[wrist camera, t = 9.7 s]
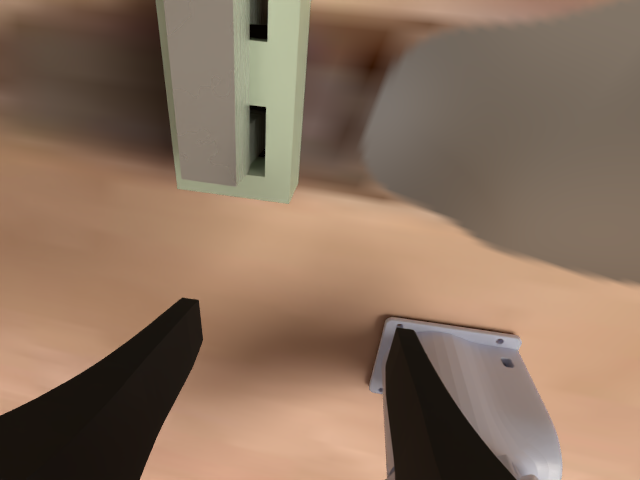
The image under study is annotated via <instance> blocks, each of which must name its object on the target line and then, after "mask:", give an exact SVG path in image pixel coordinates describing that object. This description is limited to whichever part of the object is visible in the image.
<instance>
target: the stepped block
mask: <svg viewBox="0 0 640 480" xmlns="http://www.w3.org/2000/svg"><path fill="white" fill-rule="evenodd" d="M164 10H165V20H166V30H167V40H168V50H169V60H170V70H171V79H172V89H173V99H174V109H175V119H176V129H177V139H178V148H179V158H180V168H181V178H182V179H184V180H191V181H198V182H205V183H212V184H219V185H227V186H234V187H237V186H238V184H239V183H240V182H241V181H242V180H243V178H244V177H245V176H246V175H247V174H248V172H249V166H250V165H251V164H252V162H253V161H254V160H255V159H256V158H257V157H258V155H259V154H260V153H261V152H262V151H263V150H264V148H265V145H266V111H262V110H255V109H250V24H257V25H268V0H164Z"/></svg>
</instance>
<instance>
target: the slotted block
mask: <svg viewBox="0 0 640 480" xmlns="http://www.w3.org/2000/svg"><path fill="white" fill-rule="evenodd" d="M310 4H311V0H268V39H261V38H252V37H250V105H255V106H263V107H266V148H265V157H257V158H256V159H255V160H254V161H253V162H252V164H251V165H250V166H249V172H248V174H247V175H246V176H245V177H244V178H243V180H242V181H241V182H240V183H239V184H238V186H237V187H234V186H227V185H219V184H212V183H205V182H198V181H191V180H184V179H182V178H181V168H180V158H179V148H178V139H177V129H176V119H175V109H174V99H173V89H172V79H171V70H170V60H169V50H168V40H167V30H166V20H165V10H164V0H156V8H157V17H158V25H159V34H160V43H161V51H162V60H163V68H164V77H165V86H166V94H167V103H168V112H169V120H170V129H171V138H172V146H173V155H174V163H175V172H176V181H177V189H182V190H190V191H197V192H205V193H212V194H219V195H227V196H234V197H242V198H249V199H257V200H264V201H271V202H279V203H286V204H289V203H290V200H291V198H292V196H293V194H294V191H295V189H296V187H297V184H298V178H299V163H300V149H301V134H302V120H303V105H304V91H305V76H306V62H307V48H308V33H309V19H310Z"/></svg>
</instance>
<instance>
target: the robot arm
mask: <svg viewBox="0 0 640 480" xmlns="http://www.w3.org/2000/svg"><path fill="white" fill-rule="evenodd" d="M398 324H402V325H400V326H398ZM498 339H500V340H498ZM202 341H203V335H202V326H201V317H200V308H199V300H195V299H188V298H181V299H180V300H179V301H177V302H176V303H175V304H174V305H173V306H171V307H170V308H169V309H168V310H166V311H165V312H164V313H163V314H162V315H160V316H159V317H158V318H157V319H156V320H154V321H153V322H152V323H151V324H149V325H148V326H147V327H146V328H144V329H143V330H142V331H140V332H139V333H138V334H137V335H135V336H134V337H133V338H132V339H130V340H129V341H128V342H126V343H125V344H123V345H122V346H121V347H119V348H118V349H116V350H115V351H114V352H112V353H111V354H110V355H108V356H107V357H105V358H104V359H102V360H101V361H99V362H98V363H96V364H95V365H93V366H92V367H90V368H89V369H87V370H85V371H84V372H82V373H81V374H79V375H77V376H76V377H74V378H72V379H71V380H69V381H67V382H65V383H63V384H62V385H60V386H58V387H56V388H54V389H52V390H51V391H49V392H47V393H45V394H43V395H42V396H40V397H38V398H36V399H34V400H32V401H30V402H28V403H26V404H24V405H22V406H20V407H18V408H16V409H14V410H12V411H9V412H7V413H5V414H3V415H1V416H0V480H140V477H141V475H142V472H143V470H144V467H145V465H146V462H147V460H148V457H149V455H150V452H151V450H152V448H153V445H154V443H155V440H156V438H157V436H158V433H159V431H160V429H161V427H162V425H163V423H164V421H165V419H166V417H167V415H168V413H169V412H170V410H171V408H172V406H173V404H174V402H175V400H176V398H177V396H178V394H179V392H180V391H181V389H182V387H183V385H184V383H185V381H186V379H187V377H188V375H189V373H190V371H191V369H192V367H193V365H194V363H195V360H196V357H197V355H198V352H199V349H200V347H201V344H202ZM521 344H522V341H521V339H520V337H519V336H517V335H513V334H506V333H499V332H492V331H485V330H478V329H472V328H465V327H458V326H451V325H444V324H438V323H431V322H424V321H417V320H410V319H404V318H397V317H390V318H388V319H386V321H385V325H384V328H383V332H382V336H381V340H380V344H379V348H378V352H377V356H376V360H375V364H374V367H373V371H372V375H371V379H370V383H369V390H370V391H371V392H373V393H379V394H383V409H384V428H385V448H386V468H387V479H385V480H561V478H562V456H561V449H560V444H559V440H558V436H557V433H556V430H555V427H554V424H553V422H552V420H551V418H550V416H549V413H548V411H547V409H546V407H545V405H544V403H543V401H542V399H541V397H540V395H539V393H538V391H537V389H536V387H535V385H534V382H533V380H532V378H531V376H530V374H529V372H528V370H527V368H526V366H525V364H524V362H523V360H522V358H521V356H520V354H519V351H518V350H519V348H520V346H521Z"/></svg>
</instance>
